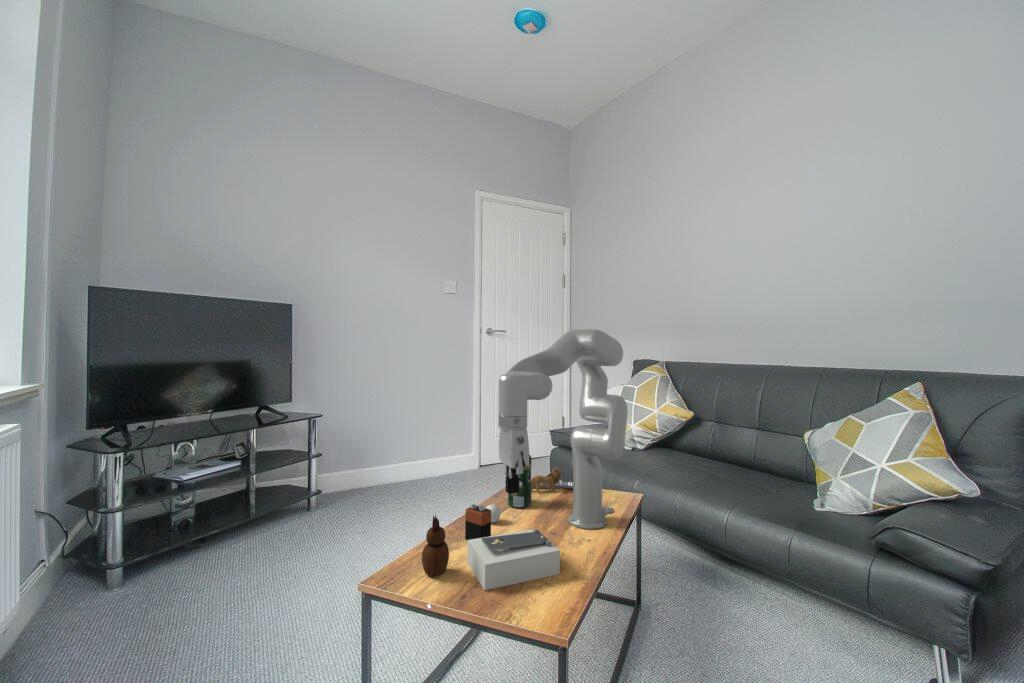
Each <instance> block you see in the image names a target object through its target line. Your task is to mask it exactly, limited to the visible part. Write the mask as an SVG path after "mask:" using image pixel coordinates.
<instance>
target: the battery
mask: <svg viewBox="0 0 1024 683" xmlns="http://www.w3.org/2000/svg"><path fill="white" fill-rule="evenodd" d="M486 507H487V506H483V505H480V506H479V505H477V504H471V506H470V507H468V508H466V509H465V519H464V520H465V521H464V522H465V523H464V525H465V528H464V529H465V532H464V538H465V540H467V541H468V540H471V539H477V538H483V537H489V536H492V523H491V510H490V509H486Z"/></svg>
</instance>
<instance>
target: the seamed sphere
mask: <svg viewBox="0 0 1024 683" xmlns="http://www.w3.org/2000/svg"><path fill="white" fill-rule="evenodd" d="M485 507H486V509H490V510H491V524H494V523H496V522H498V521H499V520H500V518H501V509H500V507H499V506H498V505H496V504H488V505H487V506H485Z"/></svg>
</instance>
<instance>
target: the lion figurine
mask: <svg viewBox="0 0 1024 683" xmlns="http://www.w3.org/2000/svg"><path fill="white" fill-rule="evenodd" d="M562 475H563V473H562V469H561V468H559V467H555V468H553V469H552V471H550V473H549V474H547V475H540V474H537V475H534V476H533V477H531V492H534V489H533V487H535V491H536V493H537V494H539V495H540V493H541V494H542V492H541V491H540V490H539V489H540V486H541V485H543V486H548V490H549V489H552V491H551V492H552V493H553V492H555V491H556V490H555V488H556V485H558V484H559V483H560V481H561V479H562Z"/></svg>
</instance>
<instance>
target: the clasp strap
mask: <svg viewBox="0 0 1024 683" xmlns="http://www.w3.org/2000/svg"><path fill="white" fill-rule="evenodd" d="M494 536H495V535H494ZM497 539H498V540H500V541H502V542H503V543H497V544H492V542H495V540H497ZM548 540H549V538H547V537H546V536H545V535H544V534H542V533H541V532H540V531H536V532H530V533H521V534H512V535H504V536H495V537H487V538H482V542H483V543H484V544H485V545H486V547H487V548H488V549H489V551H490V550H497V549H505V548H513V547H521V546H528V545H536V544H544V543H545V544H546V541H548Z"/></svg>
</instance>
